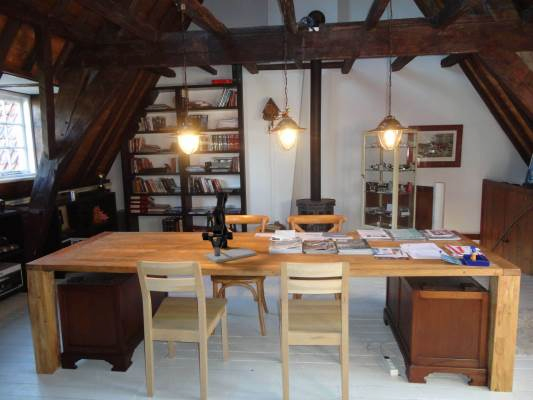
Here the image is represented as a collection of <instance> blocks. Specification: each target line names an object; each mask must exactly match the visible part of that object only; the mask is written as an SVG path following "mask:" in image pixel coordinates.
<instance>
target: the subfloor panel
mask: <svg viewBox="0 0 533 400" xmlns="http://www.w3.org/2000/svg"><path fill="white" fill-rule="evenodd" d="M257 253H258V252H257V251H254V250H251V249H250V248H247V247H245V246H244V247H238V248H233V249H228V250H223V251H221V250H220V254H221V256H218V257H216V256H215V254H214V252H211V253H206V254H204V255H203V256H204V258H206V259H208V260H210V261H211V262H213V263H215V264H217V263H222V262H227V261H231V260H237V259H241V258H246V257H251V256H255V255H257Z"/></svg>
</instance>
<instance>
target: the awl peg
mask: <svg viewBox="0 0 533 400" xmlns="http://www.w3.org/2000/svg"><path fill="white" fill-rule="evenodd" d="M213 240H214V250H213V251H214V252H213V253H214V254H215V256H216V257H218V256H221V254H220V252H221V248H220V239H217V238H213Z"/></svg>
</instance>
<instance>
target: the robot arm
mask: <svg viewBox="0 0 533 400" xmlns="http://www.w3.org/2000/svg"><path fill="white" fill-rule="evenodd" d="M215 199H216V206H215V207H213V211H212V212H211V216H212V220H213V224H212V227H211V228H212V229H211V230H212V233H210V232H208V231H207V232H205V231H204V232H202V233H201V239H202V241H208V242H210V244H211V247H212V249H214V239H220V250H223V249H228V248H230V246H229V245H228V241H233V240H234V233H233V231H229V228H228V226H227V225H226V215H227V212H226V204H227V202H228V201H229V200H228V199H229V192H228V191H224V190H223V191H217V192H215Z"/></svg>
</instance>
